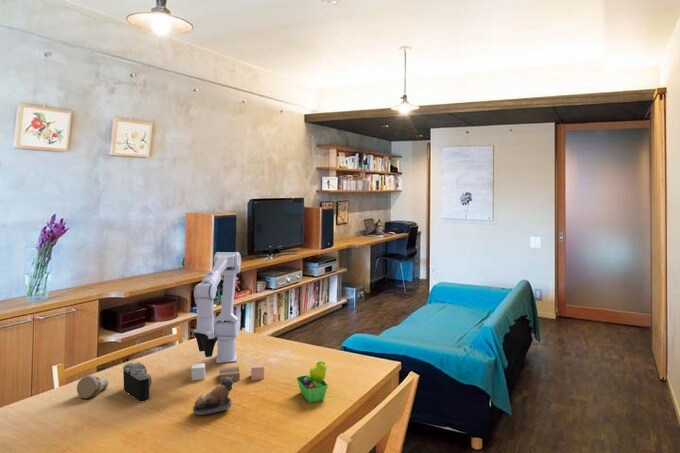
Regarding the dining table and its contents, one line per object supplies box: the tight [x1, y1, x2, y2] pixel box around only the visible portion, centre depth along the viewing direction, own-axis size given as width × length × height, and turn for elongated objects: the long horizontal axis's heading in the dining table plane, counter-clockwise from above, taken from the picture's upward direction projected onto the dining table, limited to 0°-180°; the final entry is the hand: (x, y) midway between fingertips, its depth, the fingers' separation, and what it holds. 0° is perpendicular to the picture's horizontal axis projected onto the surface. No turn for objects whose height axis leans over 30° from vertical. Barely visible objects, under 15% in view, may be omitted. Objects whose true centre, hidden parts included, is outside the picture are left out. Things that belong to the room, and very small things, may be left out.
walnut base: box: [219, 365, 241, 383], centre depth 162 cm, size 7×7×3 cm
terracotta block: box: [250, 362, 265, 381], centre depth 163 cm, size 4×4×4 cm
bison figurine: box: [192, 377, 234, 416], centre depth 136 cm, size 12×7×10 cm, turn 114°
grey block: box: [191, 362, 206, 381], centre depth 162 cm, size 4×4×4 cm
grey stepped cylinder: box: [76, 375, 109, 399], centre depth 148 cm, size 8×10×10 cm
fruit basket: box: [296, 360, 329, 404], centre depth 147 cm, size 11×9×11 cm
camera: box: [122, 361, 153, 403], centre depth 149 cm, size 15×7×10 cm, turn 47°
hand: (205, 353), depth 160 cm, fingers open, 7 cm apart
